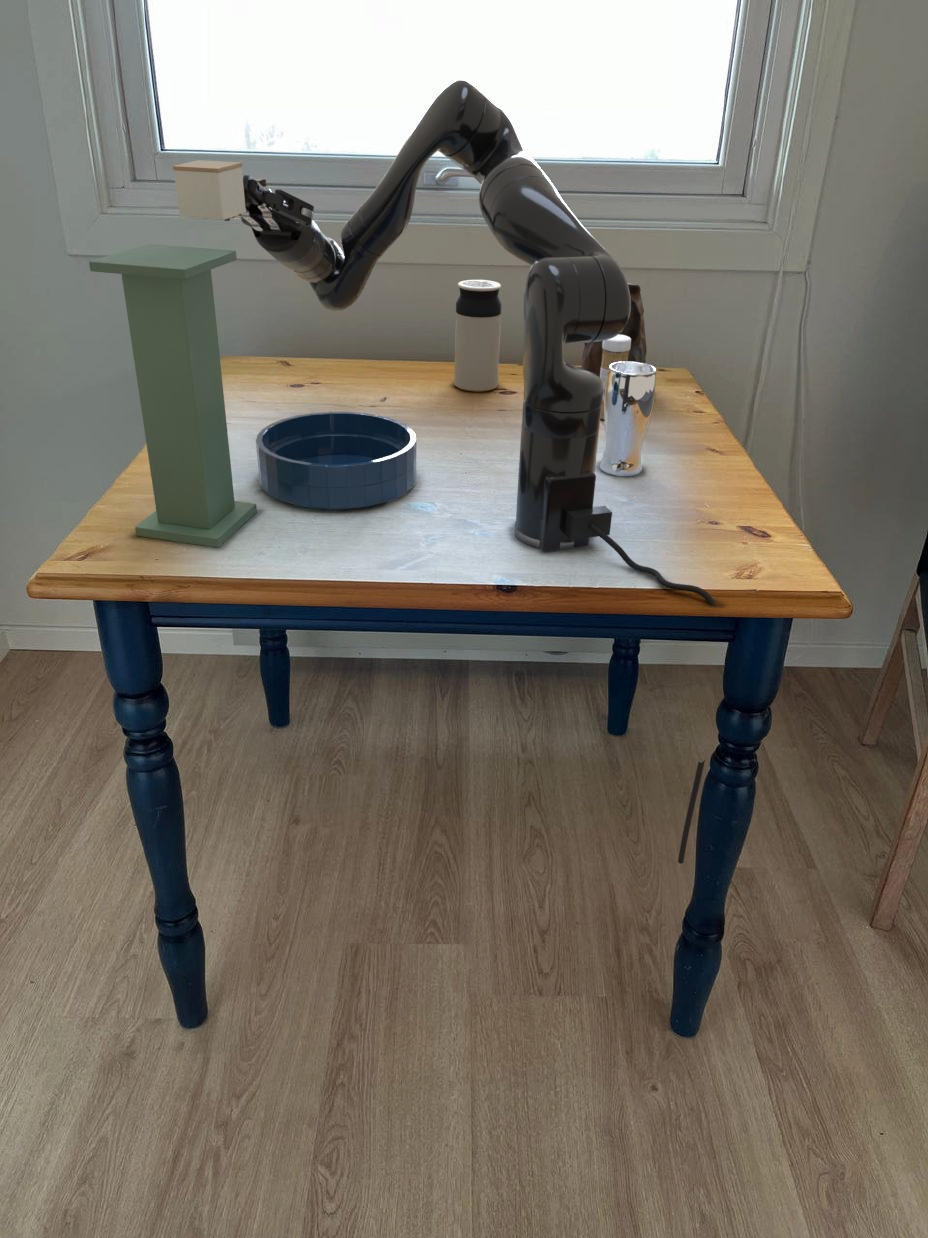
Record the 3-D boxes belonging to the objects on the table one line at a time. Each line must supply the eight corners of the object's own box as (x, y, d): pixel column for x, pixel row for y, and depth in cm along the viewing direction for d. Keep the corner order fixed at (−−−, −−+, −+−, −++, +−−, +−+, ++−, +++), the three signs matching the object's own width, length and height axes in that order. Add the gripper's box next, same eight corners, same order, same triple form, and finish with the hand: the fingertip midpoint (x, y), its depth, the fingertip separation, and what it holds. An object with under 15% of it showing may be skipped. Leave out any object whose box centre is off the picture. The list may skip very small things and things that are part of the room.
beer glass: (616, 456, 144) (627, 358, 137) (653, 469, 140) (668, 368, 132) (587, 467, 140) (597, 366, 132) (625, 481, 136) (638, 377, 128)
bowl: (435, 503, 127) (436, 457, 124) (273, 521, 121) (270, 473, 118) (392, 448, 145) (392, 406, 141) (249, 461, 138) (245, 418, 135)
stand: (182, 500, 126) (148, 243, 109) (258, 510, 124) (236, 250, 107) (133, 537, 116) (88, 261, 99) (216, 549, 113) (184, 269, 97)
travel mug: (474, 395, 169) (477, 290, 160) (445, 384, 174) (447, 282, 165) (506, 387, 173) (511, 285, 164) (477, 377, 178) (481, 277, 169)
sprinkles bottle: (627, 418, 160) (637, 338, 153) (607, 423, 158) (616, 341, 151) (609, 411, 163) (618, 331, 156) (589, 415, 161) (597, 334, 154)
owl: (638, 406, 166) (653, 287, 156) (567, 398, 168) (577, 281, 158) (646, 386, 176) (660, 274, 166) (579, 379, 179) (589, 268, 169)
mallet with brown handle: (241, 197, 123) (236, 150, 120) (281, 199, 122) (277, 153, 119) (179, 217, 110) (172, 165, 107) (223, 220, 109) (217, 168, 106)
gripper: (248, 205, 134) (188, 148, 117) (340, 211, 131) (292, 153, 114) (241, 259, 134) (181, 209, 117) (333, 266, 131) (284, 216, 114)
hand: (236, 182), depth 116 cm, fingers closed on mallet with brown handle
